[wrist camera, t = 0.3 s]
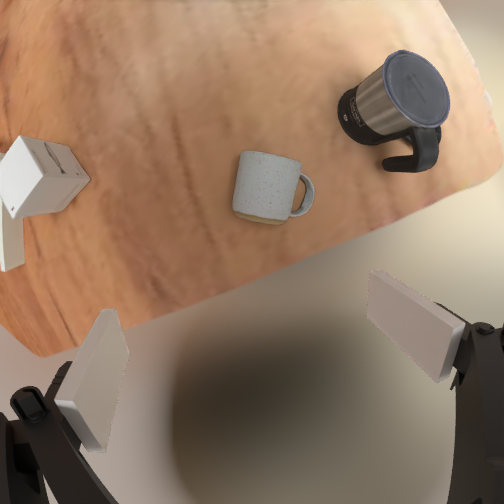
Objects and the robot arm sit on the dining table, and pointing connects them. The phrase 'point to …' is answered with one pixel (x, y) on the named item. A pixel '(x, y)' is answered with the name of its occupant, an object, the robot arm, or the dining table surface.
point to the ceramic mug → (269, 188)
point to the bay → (10, 238)
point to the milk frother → (399, 110)
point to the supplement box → (39, 177)
